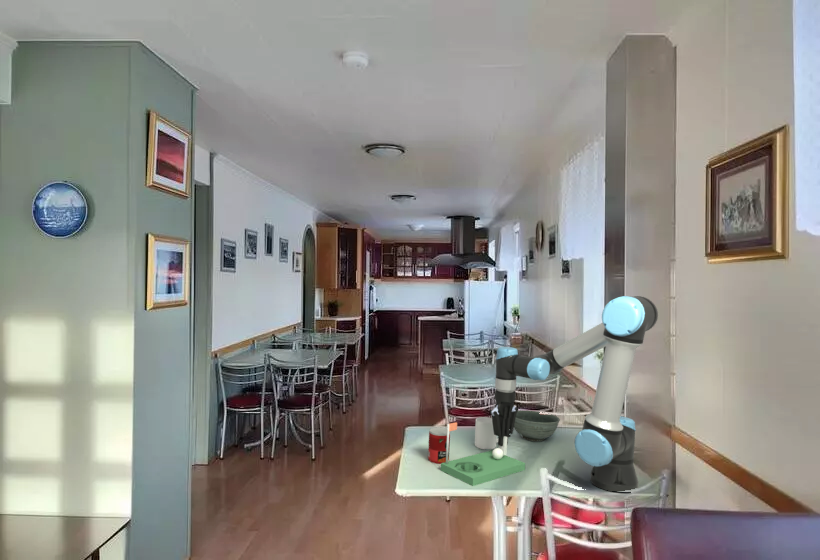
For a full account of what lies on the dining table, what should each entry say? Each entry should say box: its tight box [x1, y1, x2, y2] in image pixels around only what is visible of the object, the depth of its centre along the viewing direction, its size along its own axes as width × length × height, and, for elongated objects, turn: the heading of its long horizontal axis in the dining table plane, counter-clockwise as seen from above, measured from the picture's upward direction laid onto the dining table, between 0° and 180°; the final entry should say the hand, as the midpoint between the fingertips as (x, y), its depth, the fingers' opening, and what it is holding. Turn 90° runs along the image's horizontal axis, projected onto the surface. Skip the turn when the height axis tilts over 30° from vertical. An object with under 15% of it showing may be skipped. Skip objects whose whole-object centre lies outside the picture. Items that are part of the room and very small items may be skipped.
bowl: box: [513, 409, 561, 442], centre depth 227 cm, size 21×21×10 cm
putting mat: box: [440, 422, 526, 487], centre depth 188 cm, size 16×26×16 cm, turn 128°
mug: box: [474, 416, 498, 450], centre depth 214 cm, size 9×12×11 cm
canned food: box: [427, 427, 451, 465], centre depth 196 cm, size 8×8×11 cm
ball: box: [492, 447, 503, 460], centre depth 192 cm, size 4×4×4 cm
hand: (502, 454), depth 194 cm, fingers closed
